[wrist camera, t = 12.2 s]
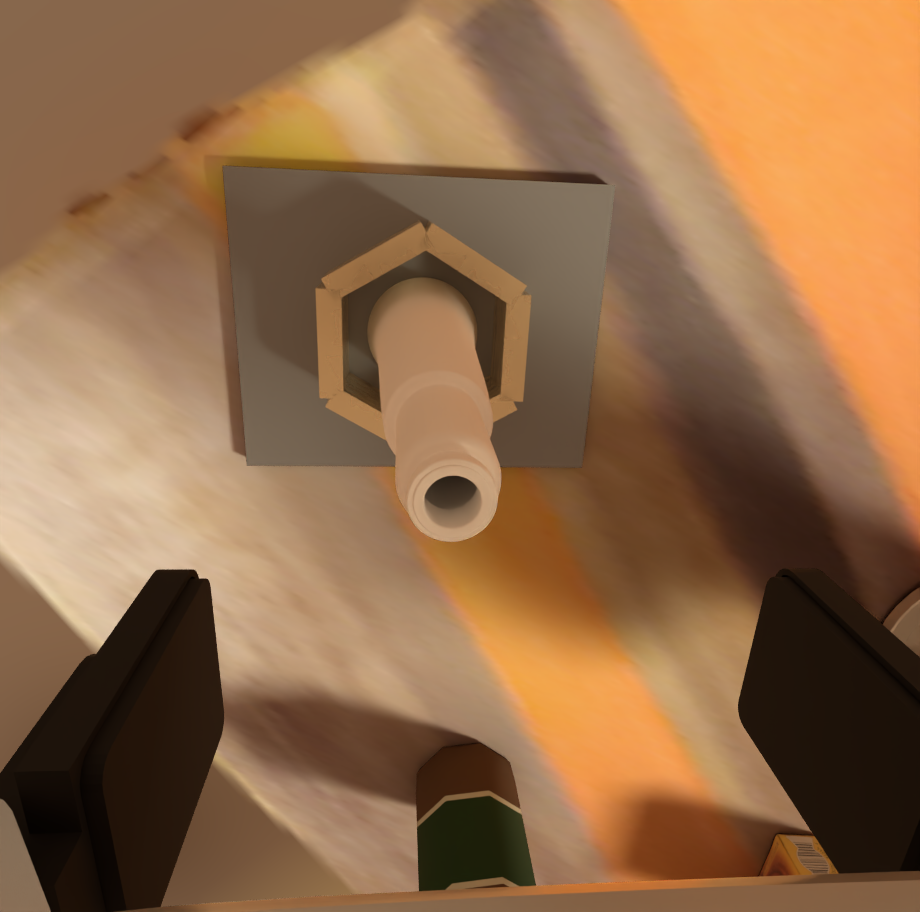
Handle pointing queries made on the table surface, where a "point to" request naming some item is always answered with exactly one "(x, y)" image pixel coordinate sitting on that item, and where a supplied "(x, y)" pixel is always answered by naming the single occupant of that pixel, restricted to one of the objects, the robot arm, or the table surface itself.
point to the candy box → (797, 857)
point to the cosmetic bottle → (435, 408)
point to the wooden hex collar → (332, 293)
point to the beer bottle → (470, 822)
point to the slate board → (373, 220)
